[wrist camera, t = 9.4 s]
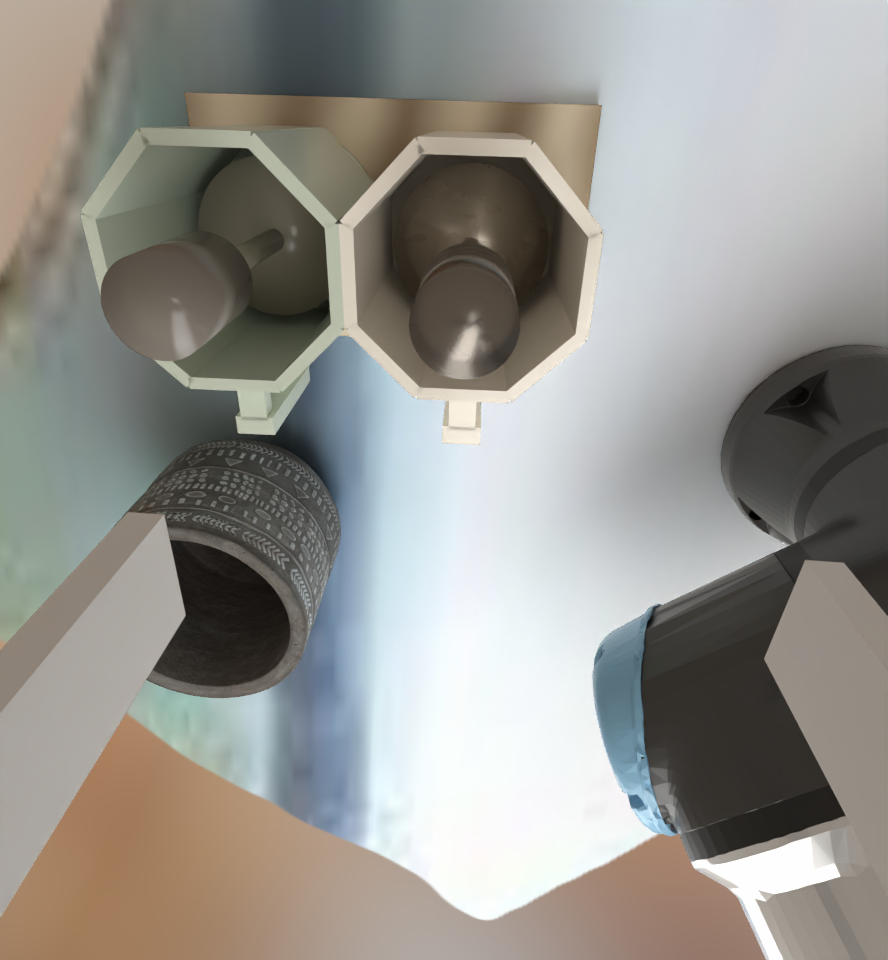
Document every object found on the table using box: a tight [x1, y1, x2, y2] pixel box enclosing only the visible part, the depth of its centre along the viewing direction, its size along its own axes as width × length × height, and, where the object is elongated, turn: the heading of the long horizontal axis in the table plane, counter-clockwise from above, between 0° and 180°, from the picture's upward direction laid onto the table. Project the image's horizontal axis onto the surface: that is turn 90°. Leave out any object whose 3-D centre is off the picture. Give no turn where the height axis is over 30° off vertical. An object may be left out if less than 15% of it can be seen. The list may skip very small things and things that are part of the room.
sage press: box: [81, 125, 374, 435], centre depth 32 cm, size 11×14×20 cm
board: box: [184, 92, 602, 336], centre depth 40 cm, size 24×14×1 cm, turn 89°
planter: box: [113, 439, 341, 698], centre depth 45 cm, size 14×14×15 cm
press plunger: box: [394, 162, 549, 379], centre depth 28 cm, size 8×8×15 cm
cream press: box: [339, 131, 604, 445], centre depth 34 cm, size 11×14×14 cm
